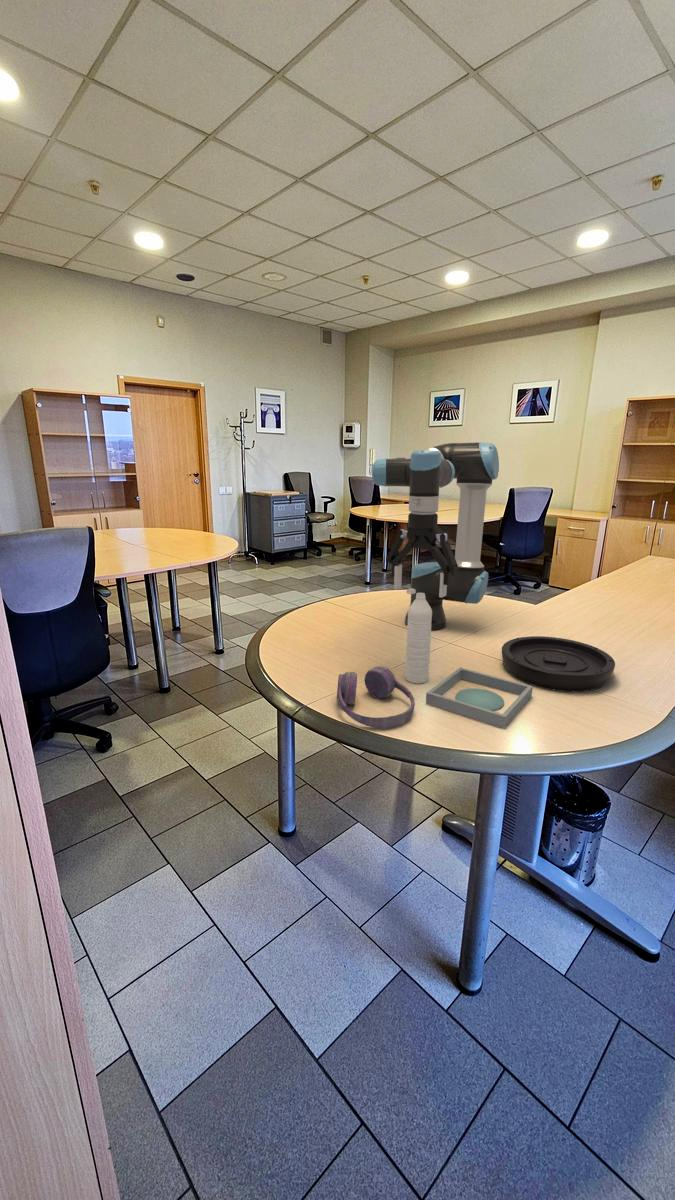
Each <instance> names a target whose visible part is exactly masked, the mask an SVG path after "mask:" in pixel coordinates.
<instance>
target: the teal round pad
mask: <svg viewBox="0 0 675 1200" xmlns="http://www.w3.org/2000/svg"><path fill="white" fill-rule="evenodd" d="M454 697H455V700H458V701H461V702H465V703H468V704H471V705H474V706H478V707H481V708H484V709H488V710H491V711H494V712H496V711H499V710H501V709H502V708H503V707H505V700H504V698H503V697H502V696H501V695H499V694H498V693H496V692H494V691H490V690H488V689H481V688H465V689H461V690H460V691H458V692H457V693H456V694H455V696H454Z"/></svg>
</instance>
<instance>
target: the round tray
mask: <svg viewBox="0 0 675 1200" xmlns="http://www.w3.org/2000/svg"><path fill="white" fill-rule="evenodd" d="M501 656H502V663H503V664H504V667H505V669H506V670H507V672H509V673H510V674H511V675H512V676H513V677H515V678H517V679H518V680H520V681H522V682H524V683H527V684H528V685H531V686H535V685H536V687H539V688H544V689H547V688H548V690H552V689H555V690H554V691H559V690H564V691H563V692H572V691H578V692H585V691H584V690H589V691H592V690H591V689H594V690H597V689H600V688H601V687H603V686H604V685H606V684H607V683H608V682H609V680H610V679H611V678H612V676H613V673H614V671H615V668H616V667H615V666H616V661H615V660H614V658H613V657H612V656H611V655H610V654H608V652H605V651H604V650H602V649H600V648H598V647H596V646H593V645H591V644H589V643H588V644H587V643H585V642H581V641H577V640H573V639H568V638H562V637H555V636H543V635H542V636H538V635H537V636H535V635H534V636H532V635H531V636H522V637H516V638H513V639H509V640H508V641H506V642H504V643H503V645H502V646H501ZM599 687H600V688H599ZM596 688H597V689H596Z"/></svg>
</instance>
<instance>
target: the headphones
mask: <svg viewBox="0 0 675 1200" xmlns="http://www.w3.org/2000/svg"><path fill="white" fill-rule="evenodd" d="M364 675H365V676H364V684H365V688H366V690H367V691H368V692H369V694H371V696H373V697H374V698H376V699H387V698H388V697H389V696H390V695H391V694H392V693H393V692H394V690H395V689H397V690H399V691H400V692H401V693H402V694H404V695H405V696H406V697H407V699H409V700H410V706H409V708H408V709H407V710H406V711H403V712H401V713H398V714H396V715H395V714H394V715H389V716H384V717H374V716H365V715H362V714H359V713H356V712H355V711H352V710H351V709H349V708H348V707H347V705H350V706H352V705H353V706H354V705H355V703H356V697H357V688H358V687H357V683H358V673H357V672H355V671H346V672H344V673H343V674H342V673H339V675H338V680H337V689H336V690H337V691H336V699H337V700H338V704H339V706H340V708H341V710H342V711H343V712H344V713H345V714H346V715H347V716H348V717H350V718H351V719H352V720H354V721H355V722H357V723H359V724H361V725H364V726H366V727H369V728H374V729H379V730H380V729H382V730H384V729H385V730H387V729H392V728H396V727H397V728H398V727H400V726H402V725H404V724H406V723H407V722H408V721H409V720H410V719H411V717H412V716H413V713H414V711H415V710H414V709H415V704H416V703H415V700H416V699H415V697H414V695H413V694H412V692H411V691H410V689H408V687H407V686H405V685H404V684H403V683H401V682H400V681H398V680H397V679H396V677H395V674H394V673H393V671H392V670H390V668H389V667H387V666H375V667H372V668H369V670H368V671H367V672H366V673H365V674H364Z"/></svg>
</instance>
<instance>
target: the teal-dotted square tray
mask: <svg viewBox="0 0 675 1200" xmlns="http://www.w3.org/2000/svg"><path fill="white" fill-rule="evenodd" d="M461 680H463V681H466V682H470V683H474V684H478V685H481V686H484V687H488V688H491V689H495V690H498V691H503V692H505V693H510V694H513V695H516V694H517V698H516V699H515V700H514V701H513V702H512V703H511V704H510V705H509V706H508V707H507V709H506V710H505V711H504V712H503V713H501V712H496V711H491V710H488V709H484V708H481V707H478V706H474V705H471V704H468V703H465V702H461V701H458V700H456V698H455V699H454V698H451V697H448V696H445V695H444V694H445V693H446V692H447V691H449V690H450V689H452V688H453V686H455V685H456V684H457V683H458V682H460V681H461ZM533 686H534V685H530V684H526V683H525V684H524V683H522V682H518V681H513V680H510V679H507V678H502V677H498V676H495V675H490V674H486V673H483V672H479V671H476V670H471V669H468V668H463V667H459V668H457V669H456V670H454V671H453V672H452V673H451V674H449V676H448V675H447V676H446V677H445V679H443V680H442V681H440V682H439V683H438V684H436V685H435V686H434V687H432V688H431V689H430V690H428V691H427V692H426V693H425V694H426V697H425V704H426V705H429V706H431V707H435V708H438V709H441V710H444V711H448V712H451V713H453V714H456V715H460V716H463V717H466V718H469V719H472V720H476V721H479V722H481V723H485V724H488V725H491V726H494V727H497V728H499V729H506V727H507V726H508V725H509V724H510V723H511V721H513V719H514V718H515V717H516V716H517V714H519V712H520V711H521V710H522V709H523V707H525V705H526V704H527V703H528V702H529V701H530V699H532V696H533Z"/></svg>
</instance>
